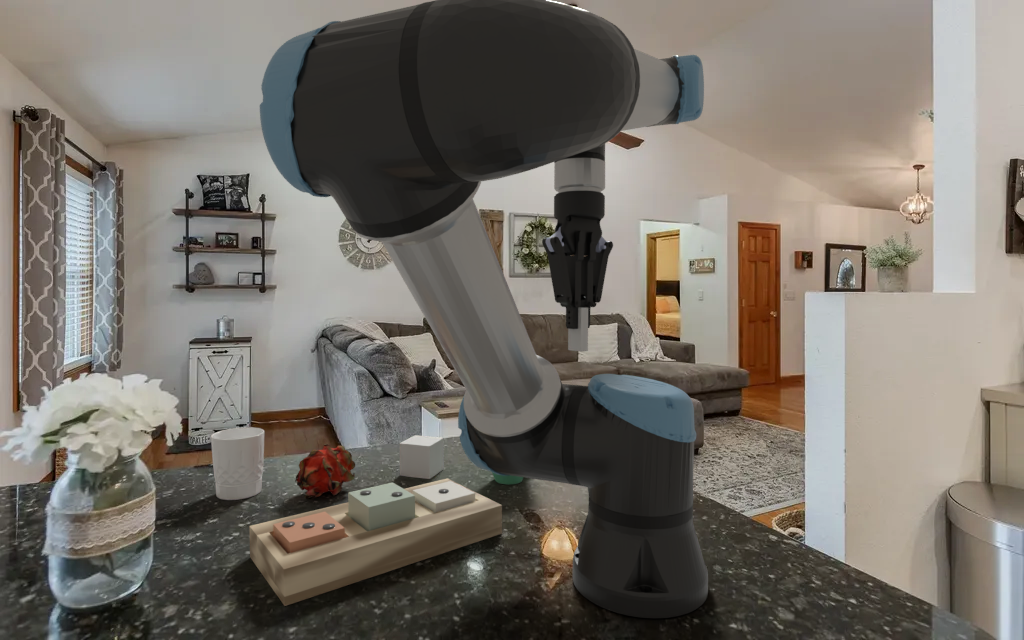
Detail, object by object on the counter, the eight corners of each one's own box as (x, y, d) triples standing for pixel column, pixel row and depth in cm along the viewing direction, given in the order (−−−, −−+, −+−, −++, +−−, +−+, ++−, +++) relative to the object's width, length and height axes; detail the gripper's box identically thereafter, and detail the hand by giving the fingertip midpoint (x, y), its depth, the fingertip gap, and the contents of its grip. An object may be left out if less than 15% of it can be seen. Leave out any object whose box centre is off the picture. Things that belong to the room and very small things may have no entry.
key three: (345, 560, 68) (344, 526, 68) (290, 577, 64) (289, 541, 64) (325, 541, 73) (325, 510, 73) (273, 556, 69) (273, 522, 69)
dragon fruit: (355, 490, 100) (307, 526, 89) (320, 458, 101) (269, 490, 90) (375, 456, 96) (328, 489, 86) (338, 424, 98) (288, 453, 87)
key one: (475, 520, 80) (475, 491, 80) (435, 532, 76) (435, 502, 76) (450, 507, 85) (450, 479, 85) (412, 517, 81) (412, 489, 81)
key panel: (501, 533, 78) (501, 505, 78) (284, 606, 60) (283, 569, 60) (447, 503, 89) (447, 478, 89) (250, 557, 71) (249, 525, 71)
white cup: (201, 498, 91) (199, 436, 91) (239, 482, 99) (237, 425, 98) (239, 504, 89) (238, 441, 88) (276, 488, 96) (274, 429, 96)
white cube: (415, 466, 108) (415, 435, 108) (443, 469, 107) (443, 437, 106) (399, 476, 103) (399, 443, 102) (429, 479, 101) (429, 446, 101)
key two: (415, 525, 74) (415, 494, 74) (369, 539, 70) (368, 506, 70) (392, 510, 79) (392, 481, 79) (348, 522, 75) (348, 491, 75)
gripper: (591, 200, 92) (589, 345, 93) (529, 191, 84) (528, 351, 85) (627, 194, 86) (625, 349, 87) (565, 184, 78) (563, 355, 79)
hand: (577, 350), depth 86 cm, fingers closed
